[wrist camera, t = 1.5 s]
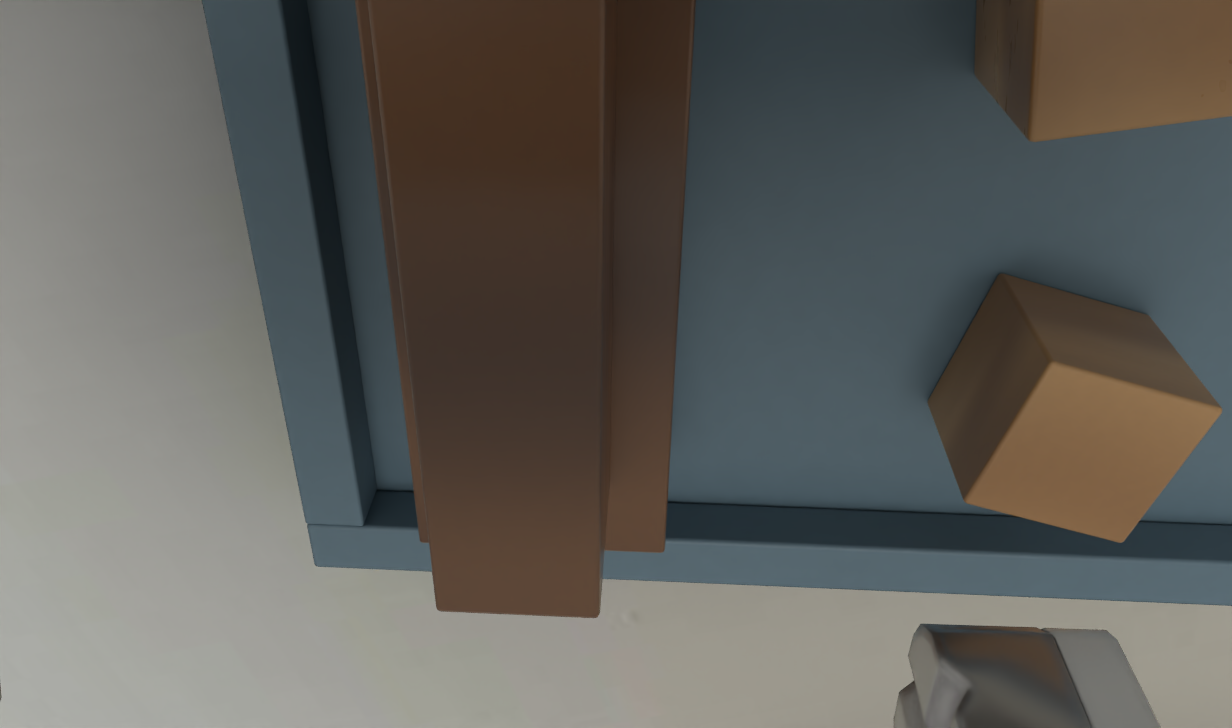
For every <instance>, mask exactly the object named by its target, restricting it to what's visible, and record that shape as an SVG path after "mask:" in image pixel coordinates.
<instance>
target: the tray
mask: <svg viewBox="0 0 1232 728" xmlns="http://www.w3.org/2000/svg"><path fill="white" fill-rule="evenodd" d="M976 2H977V0H696V9H695V27H694V44H693V62H692V80H691V97H690V115H689V133H688V150H687V168H686V186H685V203H684V221H683V239H682V257H681V274H680V292H679V310H678V327H677V345H676V363H675V380H674V398H673V416H672V433H671V451H670V469H669V486H668V504H667V522H666V539H665V550H664V552H663V553H647V552H623V551H605V552H604V565H603V579H620V580H643V581H666V582H690V583H713V584H736V585H760V586H783V587H807V588H830V589H853V590H877V591H900V592H923V593H947V594H970V595H993V596H1017V597H1040V598H1064V599H1087V600H1110V601H1134V602H1157V603H1180V604H1204V605H1227V606H1232V116H1229V117H1222V118H1214V119H1207V120H1199V121H1191V122H1184V123H1176V124H1168V125H1161V126H1153V127H1146V128H1138V129H1130V130H1123V131H1115V132H1107V133H1100V134H1092V135H1085V136H1077V137H1069V138H1062V139H1054V140H1046V141H1039V142H1031V141H1028V140H1027V138H1026V137H1025V136H1024V135H1023V134H1022V132H1021V131H1020V130H1019V129H1018V128H1017V126H1016V125H1015V124H1014V123H1013V121H1012V120H1011V119H1010V118H1009V117H1008V115H1007V114H1006V113H1005V112H1004V111H1003V109H1002V108H1001V107H1000V106H999V104H998V103H997V102H996V101H995V100H994V98H993V97H992V96H991V95H990V94H989V92H988V91H987V90H986V89H985V88H984V86H983V85H982V84H981V83H980V81H979V80H978V79H977V78H976V76H975V74H974V70H975V36H976ZM202 3H203V8H204V13H205V18H206V23H207V28H208V33H209V38H210V43H211V48H212V53H213V58H214V63H215V68H216V73H217V78H218V83H219V88H220V93H221V98H222V103H223V109H224V114H225V119H226V124H227V129H228V134H229V139H230V144H231V149H232V154H233V159H234V164H235V169H236V174H237V179H238V184H239V189H240V194H241V199H242V204H243V209H244V214H245V219H246V224H247V229H248V234H249V239H250V244H251V249H252V254H253V259H254V264H255V269H256V274H257V279H258V284H259V290H260V295H261V300H262V305H263V310H264V315H265V320H266V325H267V330H268V335H269V340H270V345H271V350H272V355H273V360H274V365H275V370H276V375H277V380H278V385H279V390H280V395H281V400H282V405H283V410H284V415H285V420H286V425H287V430H288V435H289V440H290V445H291V450H292V455H293V460H294V465H295V470H296V476H297V481H298V486H299V491H300V496H301V501H302V506H303V511H304V516H305V521H306V523H308V524H307V528H308V533H309V538H310V543H311V548H312V553H313V558H314V563H315V565H316V566H318V567H339V568H363V569H386V570H409V571H432V566H431V557H430V548H429V543H422V542H420V539H419V532H418V523H417V515H416V507H415V498H414V490H413V482H412V473H411V465H410V457H409V448H408V440H407V432H406V423H405V415H404V407H403V398H402V390H401V382H400V373H399V365H398V357H397V348H396V340H395V332H394V323H393V315H392V307H391V298H390V290H389V282H388V273H387V265H386V257H385V248H384V240H383V231H382V223H381V215H380V206H379V198H378V190H377V181H376V173H375V165H374V156H373V148H372V140H371V131H370V123H369V115H368V106H367V98H366V90H365V81H364V73H363V65H362V56H361V48H360V40H359V31H358V23H357V15H356V6H355V0H202ZM999 274H1006V275H1010V276H1013V277H1017V278H1020V279H1024V280H1027V281H1031V282H1034V283H1038V284H1041V285H1045V286H1048V287H1052V288H1055V289H1059V290H1062V291H1066V292H1069V293H1072V294H1076V295H1079V296H1083V297H1086V298H1090V299H1093V300H1097V301H1100V302H1104V303H1107V304H1111V305H1114V306H1118V307H1121V308H1125V309H1128V310H1132V311H1135V312H1139V313H1142V314H1146V315H1149V316H1150V317H1151V318H1152V320H1153V321H1154V322H1155V323H1156V325H1157V326H1158V327H1159V329H1160V330H1161V331H1162V332H1163V334H1164V335H1165V336H1166V337H1167V339H1168V340H1169V341H1170V343H1171V344H1172V345H1173V346H1174V348H1175V349H1176V350H1177V351H1178V353H1179V354H1180V355H1181V357H1182V358H1183V359H1184V360H1185V362H1186V363H1187V364H1188V365H1189V367H1190V368H1191V369H1192V371H1193V372H1194V373H1195V374H1196V376H1197V377H1198V378H1199V379H1200V381H1201V382H1202V383H1203V385H1204V386H1205V387H1206V388H1207V390H1208V391H1209V392H1210V393H1211V395H1212V396H1213V397H1214V399H1215V400H1216V401H1217V402H1218V404H1219V405H1220V406H1221V407H1222V413H1221V415H1220V416H1219V417H1218V419H1217V420H1216V421H1215V423H1214V424H1213V425H1212V427H1211V428H1210V429H1209V430H1208V432H1207V433H1206V434H1205V436H1204V437H1203V438H1202V440H1201V441H1200V442H1199V444H1198V445H1197V446H1196V448H1195V449H1194V450H1193V451H1192V453H1191V454H1190V455H1189V457H1188V458H1187V459H1186V461H1185V462H1184V463H1183V465H1182V466H1181V467H1180V469H1179V470H1178V471H1177V472H1176V474H1175V475H1174V476H1173V478H1172V479H1171V480H1170V482H1169V483H1168V484H1167V486H1166V487H1165V488H1164V490H1163V491H1162V492H1161V493H1160V495H1159V496H1158V497H1157V499H1156V500H1155V501H1154V503H1153V504H1152V505H1151V507H1150V508H1149V509H1148V511H1147V512H1146V513H1145V514H1144V516H1143V517H1142V518H1141V520H1140V521H1139V522H1138V524H1137V525H1136V526H1135V528H1134V529H1133V530H1132V532H1131V533H1130V534H1129V535H1128V537H1127V538H1126V539H1125V541H1124V542H1122V543H1118V542H1114V541H1110V540H1107V539H1103V538H1099V537H1095V536H1091V535H1087V534H1083V533H1079V532H1075V531H1072V530H1068V529H1064V528H1060V527H1056V526H1052V525H1048V524H1044V523H1040V522H1037V521H1033V520H1029V519H1025V518H1021V517H1017V516H1013V515H1009V514H1005V513H1002V512H998V511H994V510H990V509H986V508H982V507H978V506H974V505H970V504H967V503H965V502H964V501H963V498H962V496H961V493H960V490H959V487H958V485H957V482H956V479H955V477H954V474H953V471H952V469H951V466H950V463H949V460H948V458H947V455H946V452H945V450H944V447H943V444H942V442H941V439H940V436H939V433H938V431H937V428H936V425H935V423H934V420H933V417H932V415H931V412H930V409H929V406H928V400H929V398H930V396H931V394H932V393H933V391H934V389H935V387H936V385H937V384H938V382H939V380H940V378H941V376H942V375H943V373H944V371H945V369H946V368H947V366H948V364H949V362H950V360H951V359H952V357H953V355H954V353H955V351H956V350H957V348H958V346H959V344H960V342H961V341H962V339H963V337H964V335H965V334H966V332H967V330H968V328H969V326H970V325H971V323H972V321H973V319H974V317H975V316H976V314H977V312H978V310H979V308H980V307H981V305H982V303H983V301H984V300H985V298H986V296H987V294H988V292H989V291H990V289H991V287H992V285H993V283H994V282H995V280H996V278H997V276H998V275H999Z"/></svg>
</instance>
